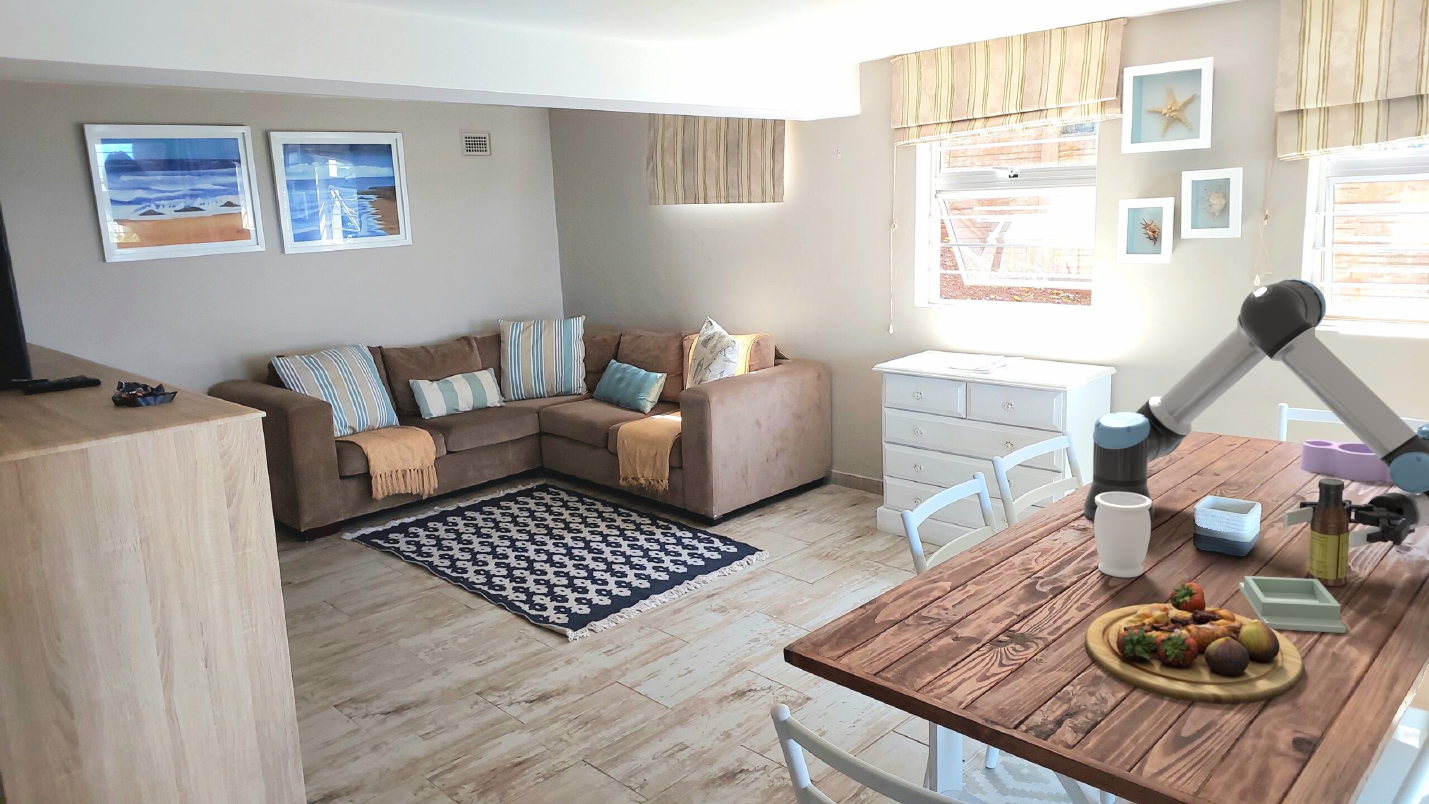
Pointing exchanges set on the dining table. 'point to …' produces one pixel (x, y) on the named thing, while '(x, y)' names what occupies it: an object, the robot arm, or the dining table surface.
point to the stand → (1293, 604)
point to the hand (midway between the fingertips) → (1317, 529)
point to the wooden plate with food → (1194, 651)
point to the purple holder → (1343, 460)
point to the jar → (1122, 532)
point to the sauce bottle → (1329, 535)
